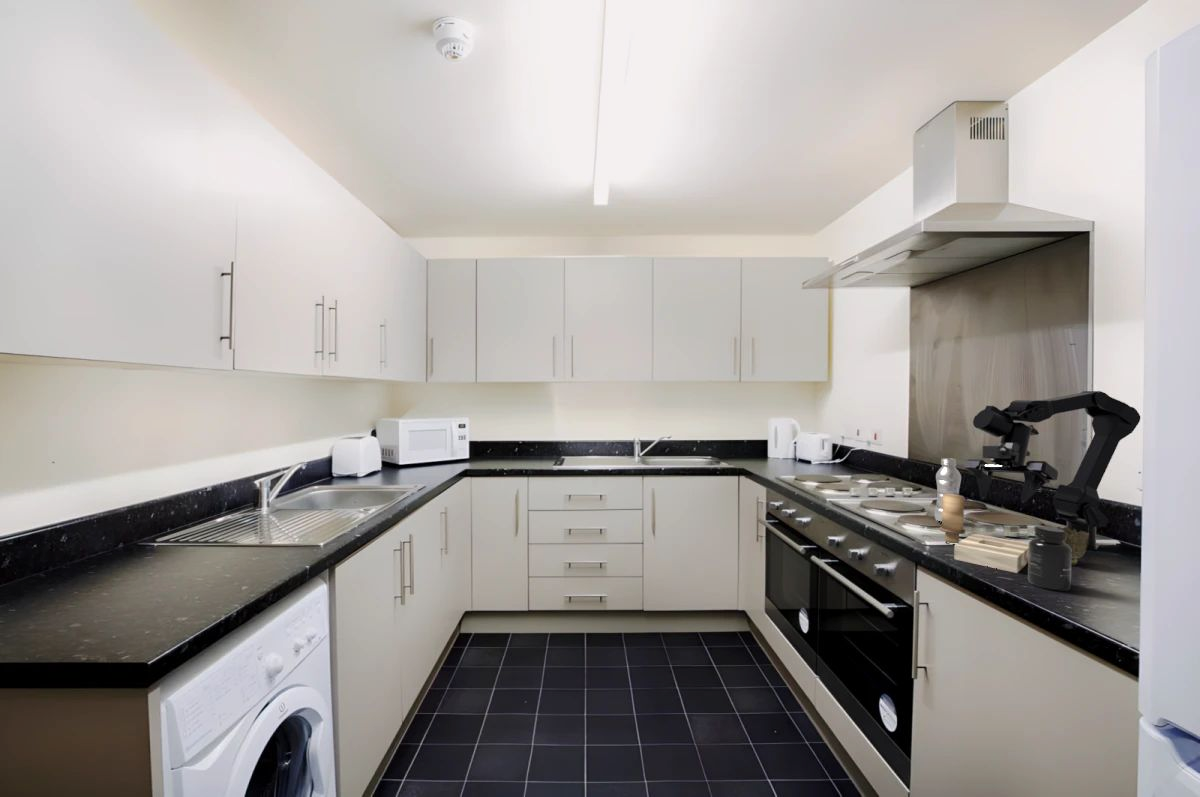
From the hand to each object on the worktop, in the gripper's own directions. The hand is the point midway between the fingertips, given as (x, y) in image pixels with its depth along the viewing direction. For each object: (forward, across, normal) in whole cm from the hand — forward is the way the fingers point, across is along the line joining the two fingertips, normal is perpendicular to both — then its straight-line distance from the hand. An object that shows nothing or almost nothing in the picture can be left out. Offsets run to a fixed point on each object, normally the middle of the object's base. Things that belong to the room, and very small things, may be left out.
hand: (1002, 500), depth 129 cm
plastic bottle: (+3, -25, +18) cm, 31 cm away
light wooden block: (+16, +1, -1) cm, 16 cm away
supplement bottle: (+21, +16, -7) cm, 27 cm away
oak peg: (+13, -11, +2) cm, 17 cm away
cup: (+11, +10, +11) cm, 18 cm away
